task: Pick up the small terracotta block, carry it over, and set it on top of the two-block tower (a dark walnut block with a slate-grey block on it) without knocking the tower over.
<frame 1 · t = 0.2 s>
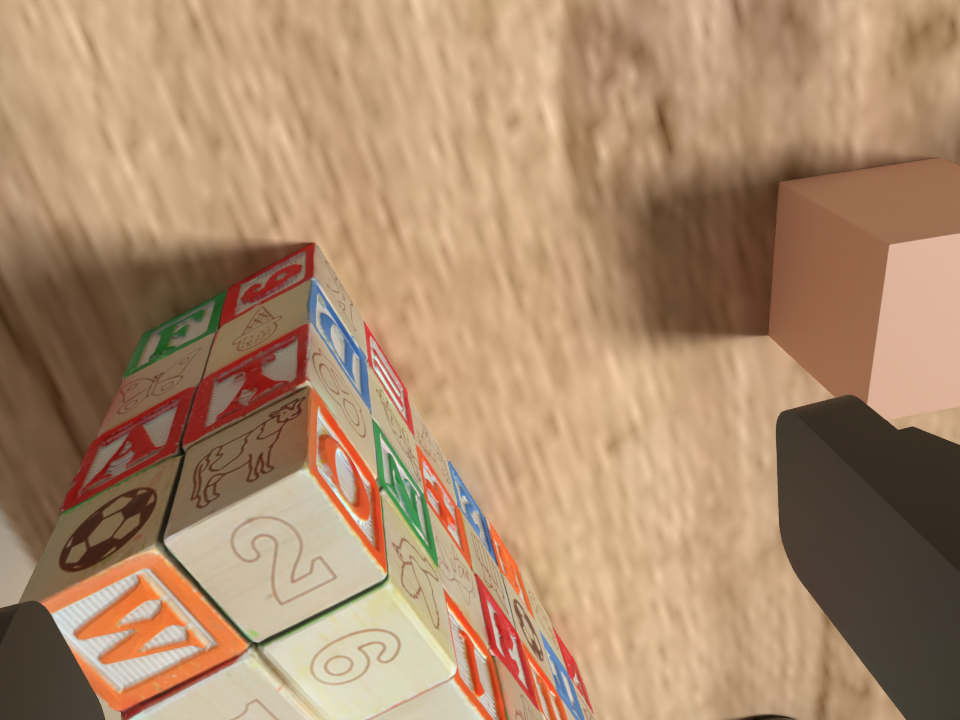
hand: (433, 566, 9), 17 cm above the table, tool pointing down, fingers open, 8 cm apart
terracotta block: (849, 248, 28), on the table
stack of blocks: (392, 517, 31), on the table
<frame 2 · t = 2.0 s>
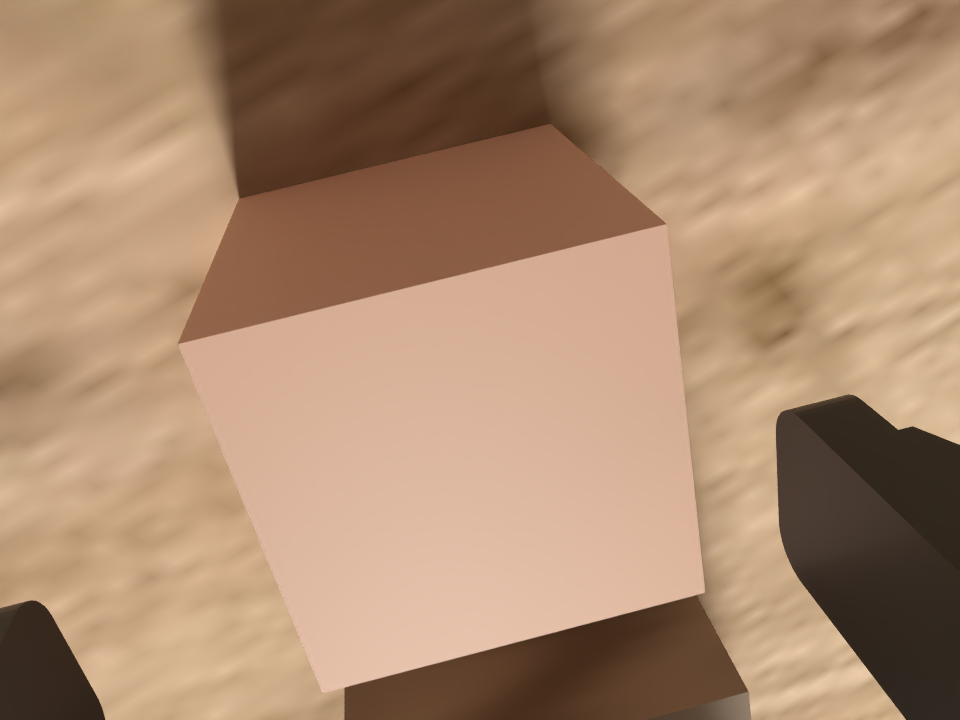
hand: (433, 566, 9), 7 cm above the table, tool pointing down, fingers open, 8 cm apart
terracotta block: (431, 303, 16), on the table
tower base block: (541, 717, 21), on the table, touching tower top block
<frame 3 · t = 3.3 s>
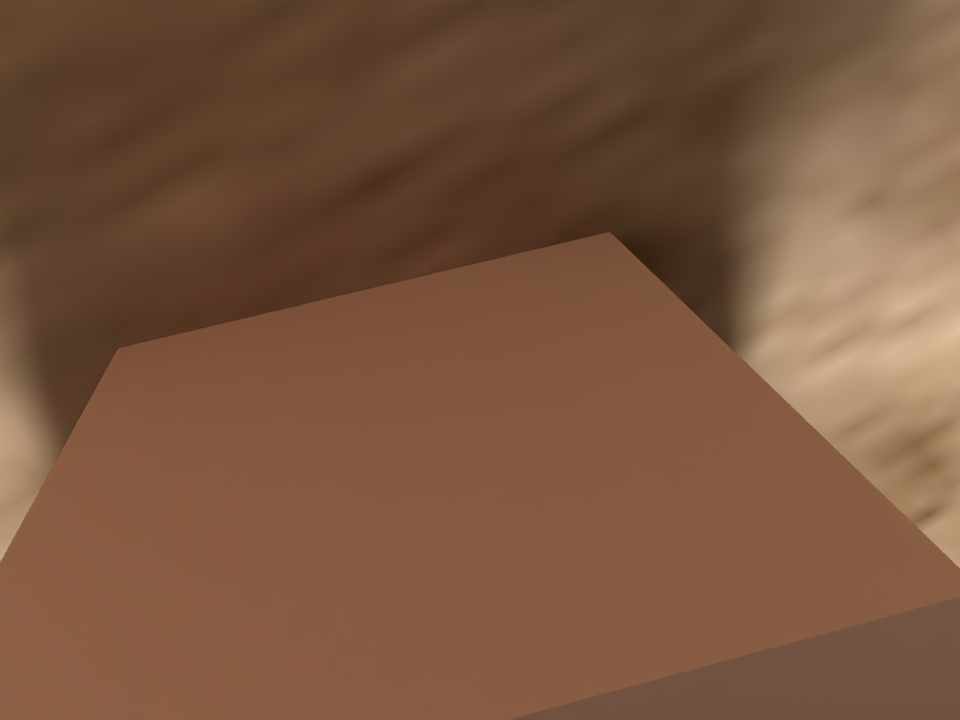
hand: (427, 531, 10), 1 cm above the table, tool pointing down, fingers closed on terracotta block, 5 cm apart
terracotta block: (422, 491, 10), on the table, touching gripper
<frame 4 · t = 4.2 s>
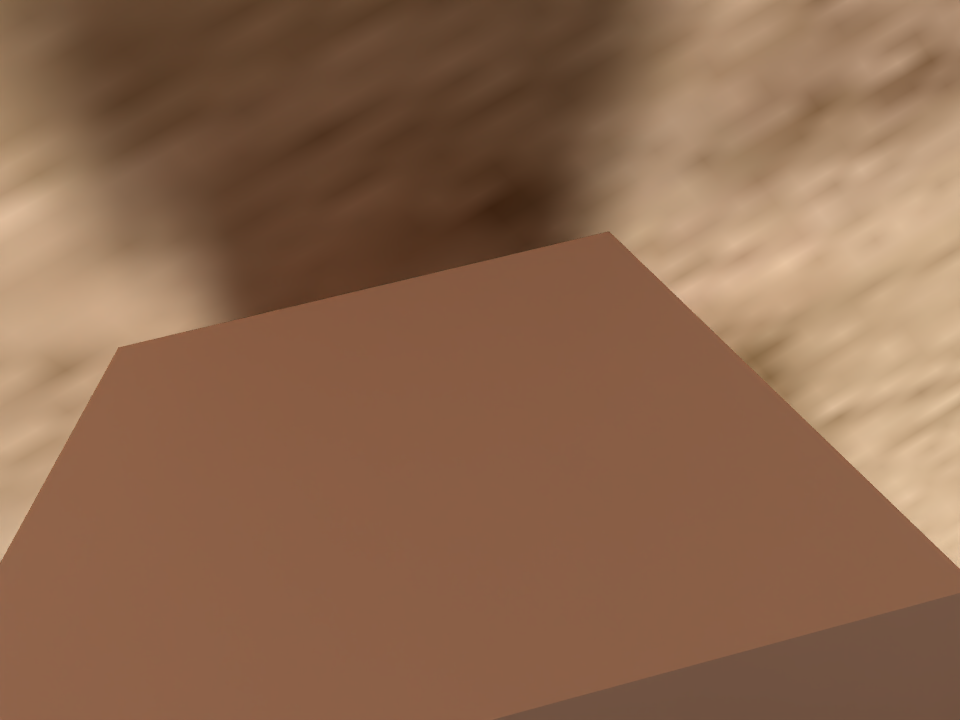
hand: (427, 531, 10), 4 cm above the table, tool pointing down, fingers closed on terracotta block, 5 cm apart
terracotta block: (422, 490, 10), point 3 cm above the table, touching gripper
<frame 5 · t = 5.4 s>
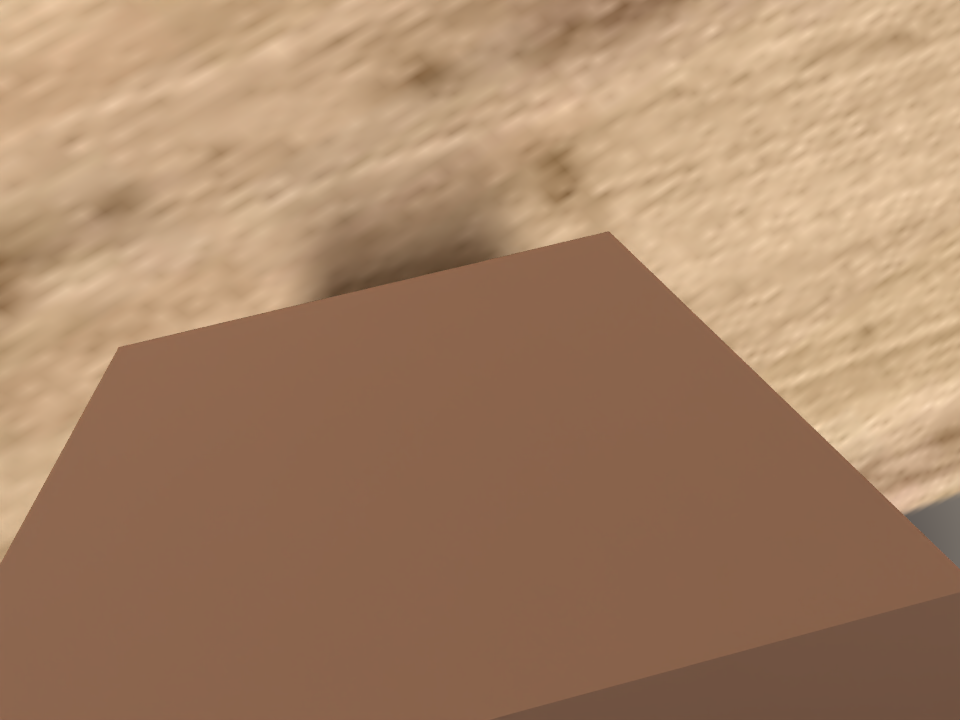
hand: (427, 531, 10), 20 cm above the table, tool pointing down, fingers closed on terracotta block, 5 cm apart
terracotta block: (422, 490, 10), point 19 cm above the table, touching gripper
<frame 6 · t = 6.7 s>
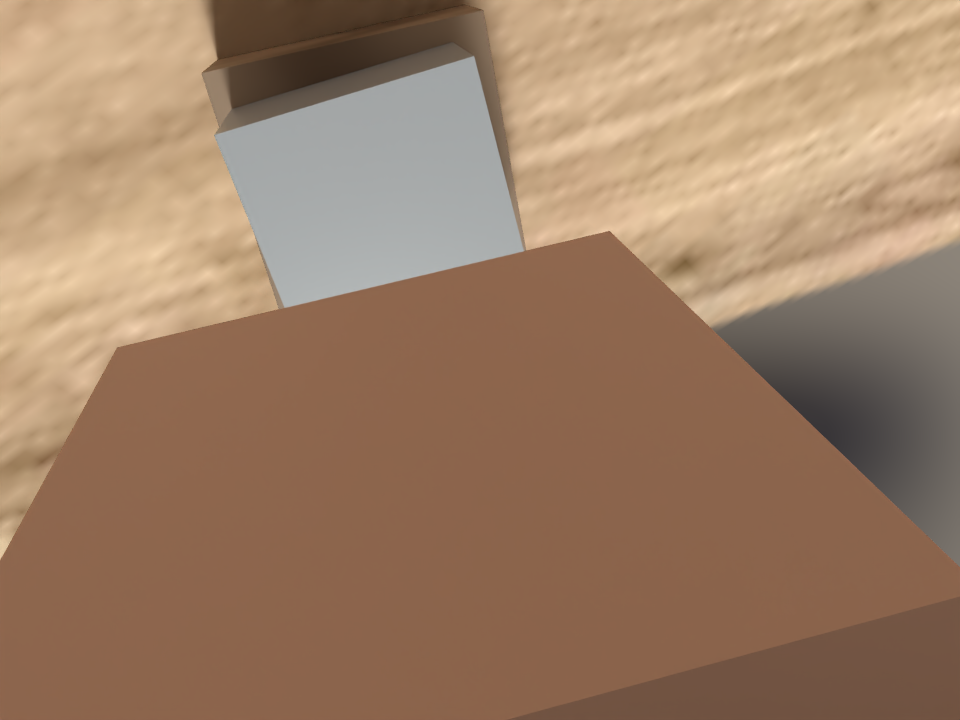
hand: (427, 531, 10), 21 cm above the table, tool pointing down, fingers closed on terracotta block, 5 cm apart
terracotta block: (422, 490, 10), point 20 cm above the table, touching gripper
tower base block: (373, 154, 29), on the table, touching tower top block
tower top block: (378, 184, 25), point 4 cm above the table, touching tower base block
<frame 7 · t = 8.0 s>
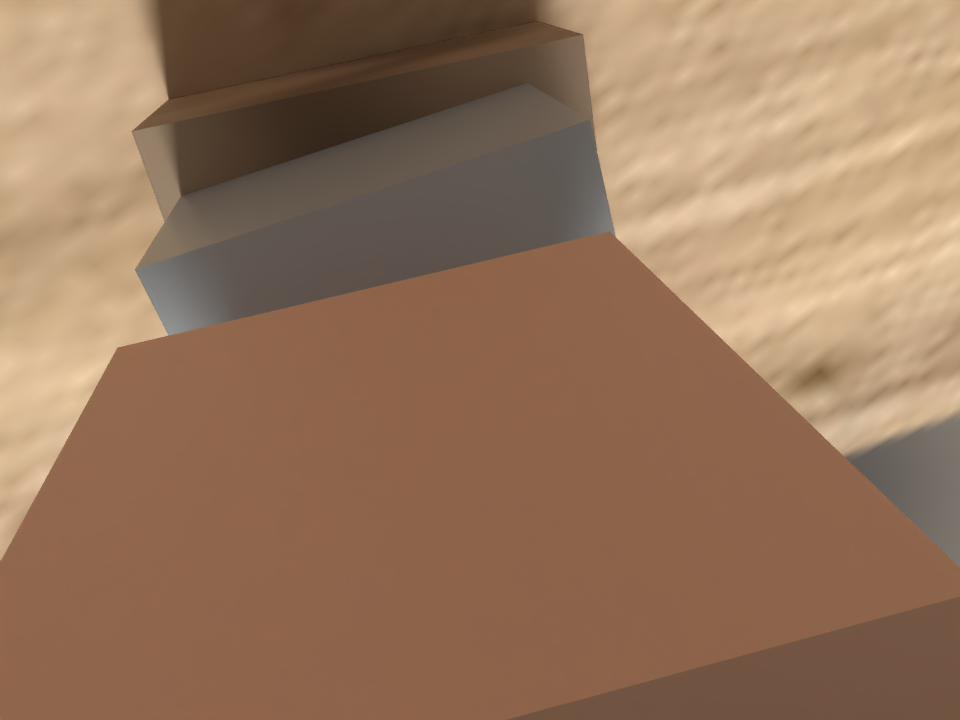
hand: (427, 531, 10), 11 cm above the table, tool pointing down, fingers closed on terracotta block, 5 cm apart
terracotta block: (422, 490, 10), point 10 cm above the table, touching gripper
tower base block: (396, 232, 20), on the table, touching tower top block
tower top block: (411, 300, 16), point 4 cm above the table, touching tower base block
when the fingers open (10 cm above the table, at t = 8.7 s): terracotta block drops 1 cm, resting on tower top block.
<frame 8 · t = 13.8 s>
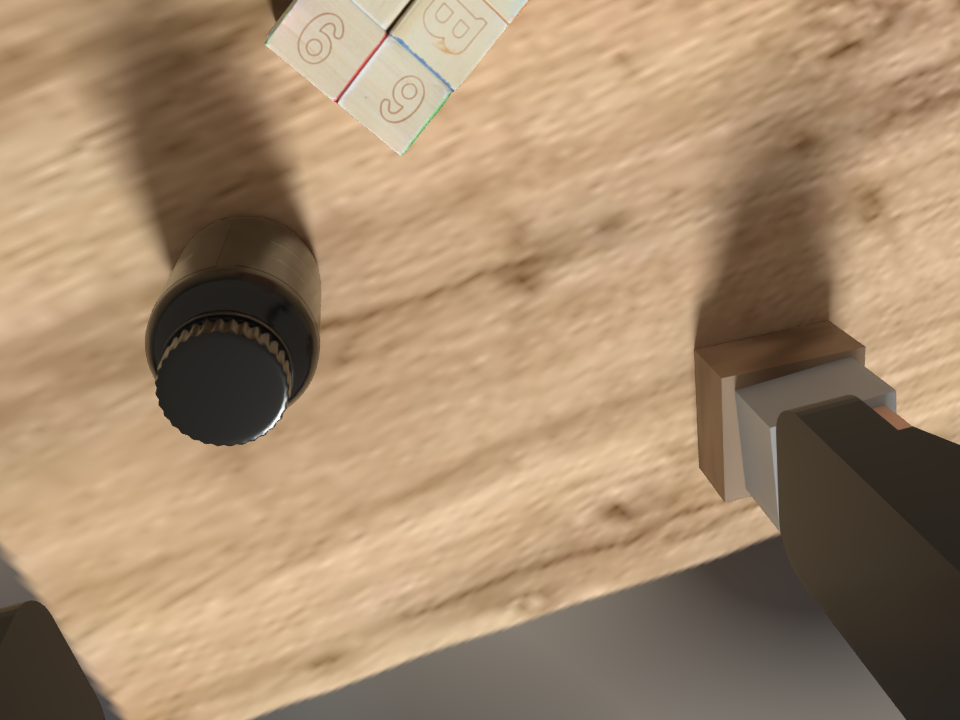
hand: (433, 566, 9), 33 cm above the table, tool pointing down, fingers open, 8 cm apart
terracotta block: (831, 463, 42), point 8 cm above the table, touching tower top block
supplement bottle: (251, 279, 42), on the table
tower base block: (759, 393, 50), on the table, touching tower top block
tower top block: (796, 424, 46), point 4 cm above the table, touching terracotta block, tower base block
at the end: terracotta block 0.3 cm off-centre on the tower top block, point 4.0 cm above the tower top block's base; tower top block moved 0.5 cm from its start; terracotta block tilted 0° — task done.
